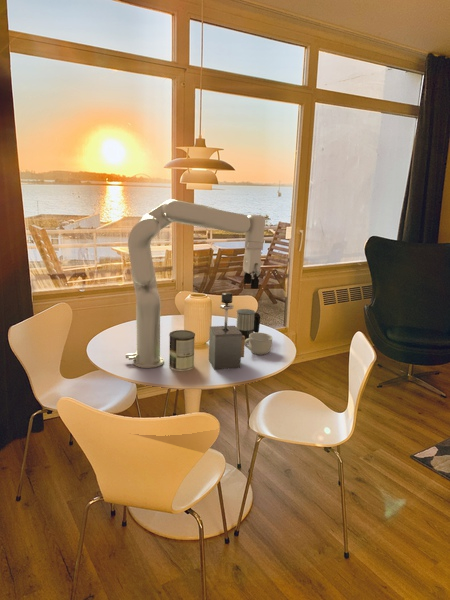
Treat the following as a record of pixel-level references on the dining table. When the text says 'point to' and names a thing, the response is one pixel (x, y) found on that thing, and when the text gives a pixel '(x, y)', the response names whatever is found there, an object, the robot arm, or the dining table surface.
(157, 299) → the robot arm
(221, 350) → the gray box
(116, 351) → the dining table surface
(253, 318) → the milk frother
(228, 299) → the plunger
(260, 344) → the teacup
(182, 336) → the coffee can
